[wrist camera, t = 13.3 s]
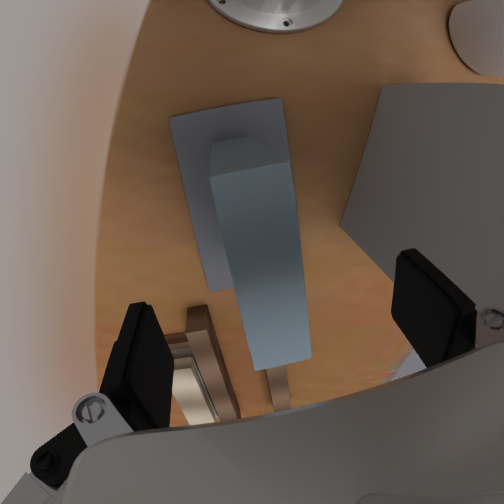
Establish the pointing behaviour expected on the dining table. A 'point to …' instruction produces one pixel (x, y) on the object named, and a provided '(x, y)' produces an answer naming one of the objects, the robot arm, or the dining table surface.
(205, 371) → the rack
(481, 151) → the grey tall flat block
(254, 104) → the slate mat
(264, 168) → the blue grey brick
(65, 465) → the robot arm
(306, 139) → the dining table surface
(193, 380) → the offcut stack
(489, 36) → the alcohol
